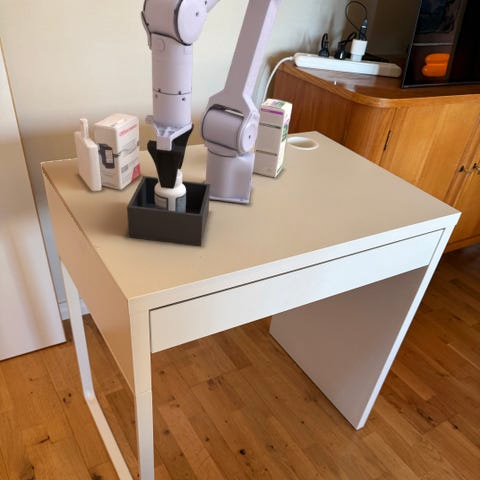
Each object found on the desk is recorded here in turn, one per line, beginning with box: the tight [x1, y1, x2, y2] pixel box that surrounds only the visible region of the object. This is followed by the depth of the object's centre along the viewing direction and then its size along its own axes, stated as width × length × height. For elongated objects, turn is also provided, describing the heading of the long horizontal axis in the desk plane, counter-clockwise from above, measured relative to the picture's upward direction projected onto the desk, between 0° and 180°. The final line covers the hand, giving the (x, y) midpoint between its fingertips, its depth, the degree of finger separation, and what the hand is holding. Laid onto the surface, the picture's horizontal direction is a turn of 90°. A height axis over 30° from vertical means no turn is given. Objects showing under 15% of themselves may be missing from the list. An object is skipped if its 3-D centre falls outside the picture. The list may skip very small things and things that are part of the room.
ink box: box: [93, 112, 141, 191], centre depth 88 cm, size 8×5×12 cm, turn 162°
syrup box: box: [253, 98, 293, 178], centre depth 99 cm, size 6×6×14 cm
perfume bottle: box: [73, 117, 102, 192], centre depth 86 cm, size 8×2×12 cm, turn 32°
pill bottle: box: [155, 169, 186, 213], centre depth 78 cm, size 5×5×9 cm
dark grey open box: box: [126, 175, 211, 247], centre depth 79 cm, size 12×12×6 cm
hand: (171, 177), depth 75 cm, fingers open, 7 cm apart
